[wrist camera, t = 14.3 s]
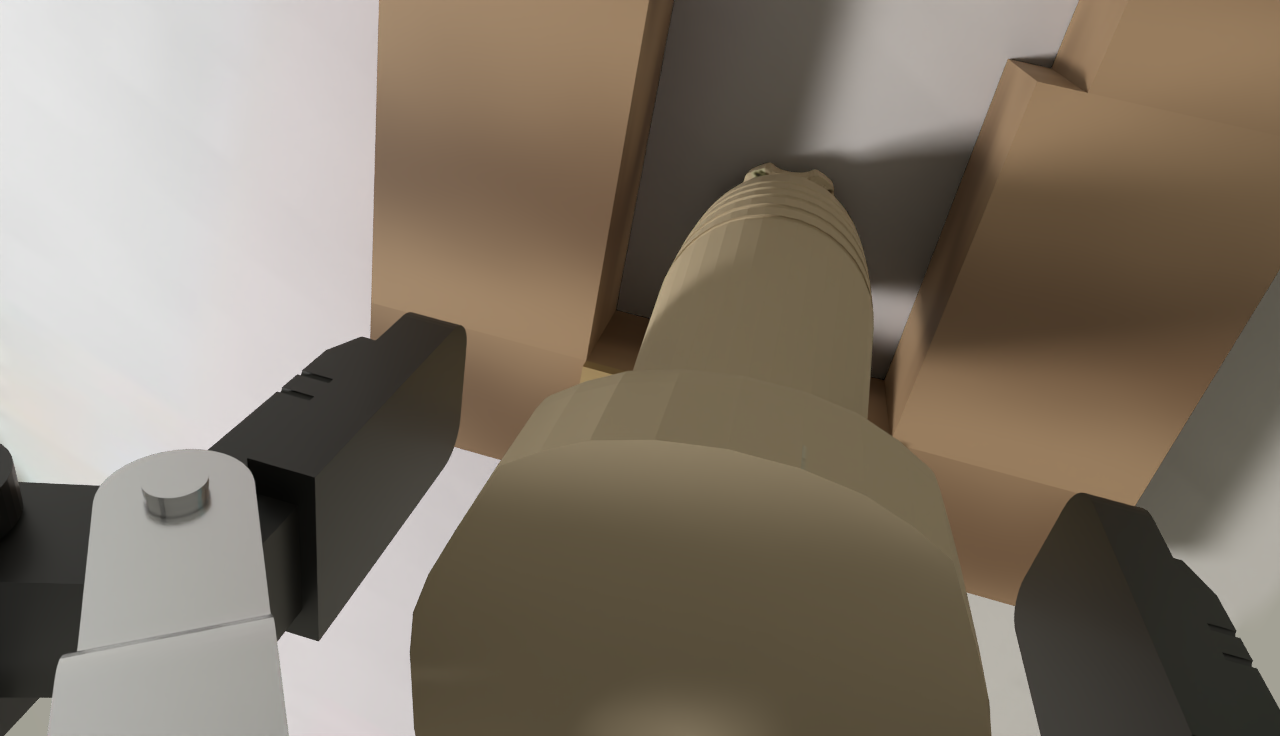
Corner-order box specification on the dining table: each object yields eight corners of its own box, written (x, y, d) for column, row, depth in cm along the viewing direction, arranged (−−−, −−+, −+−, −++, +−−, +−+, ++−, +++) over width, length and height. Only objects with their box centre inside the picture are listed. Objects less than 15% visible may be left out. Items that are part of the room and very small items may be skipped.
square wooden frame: (487, -782, 14) (393, -973, 11) (1681, -619, 12) (1947, -792, 9) (418, 369, 24) (362, 428, 22) (1039, 541, 23) (1068, 629, 20)
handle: (917, 102, 18) (1102, 522, 5) (854, 359, 21) (874, 1023, 8) (700, 72, 19) (394, 384, 6) (669, 326, 22) (423, 893, 9)
